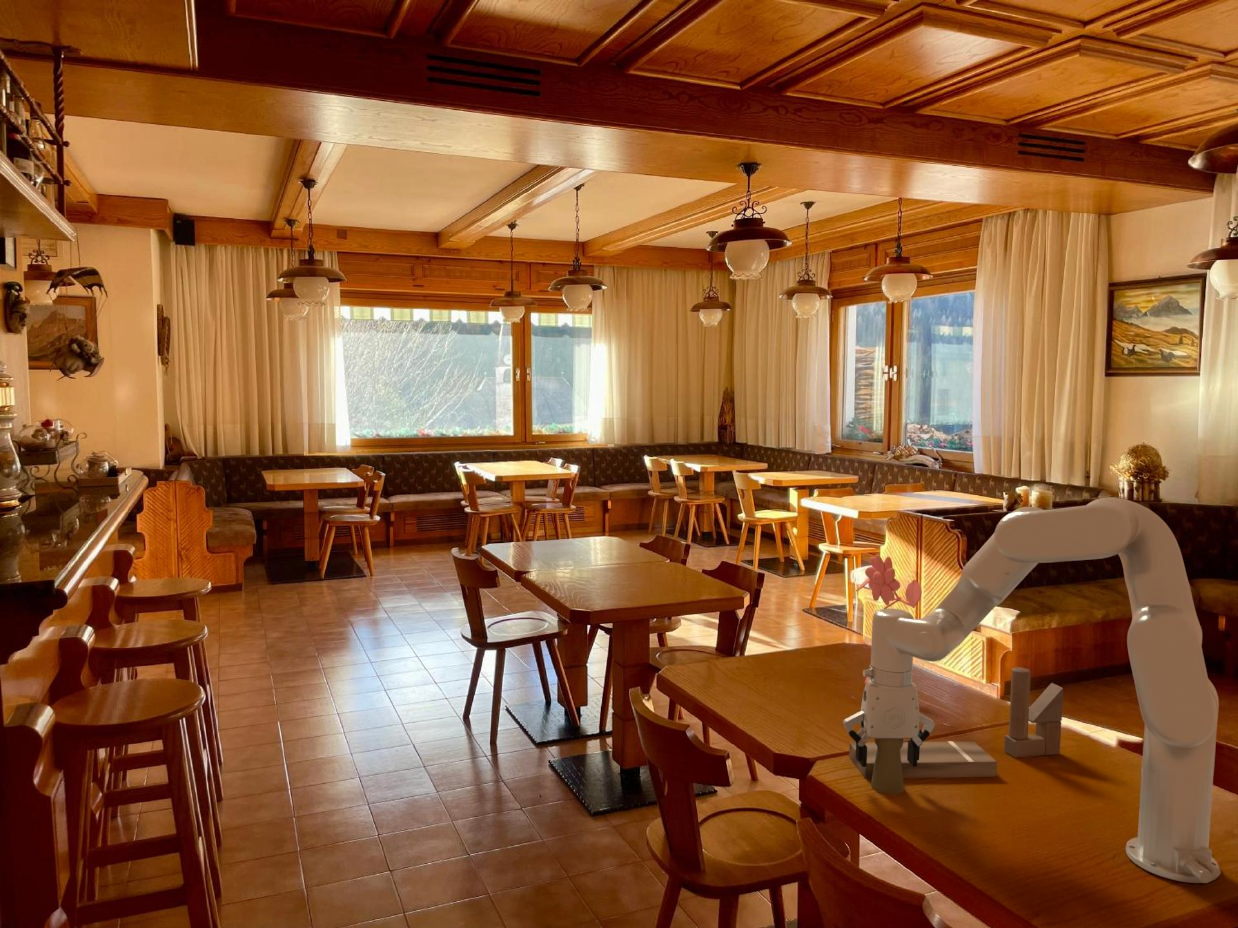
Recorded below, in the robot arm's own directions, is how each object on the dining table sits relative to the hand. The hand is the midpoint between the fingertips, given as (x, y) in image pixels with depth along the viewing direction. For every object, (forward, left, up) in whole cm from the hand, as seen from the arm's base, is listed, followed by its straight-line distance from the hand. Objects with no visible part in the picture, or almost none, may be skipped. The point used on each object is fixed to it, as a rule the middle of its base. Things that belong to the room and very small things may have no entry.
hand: (886, 763), depth 167 cm
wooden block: (+15, -36, -5) cm, 39 cm away
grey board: (+9, -10, -4) cm, 14 cm away
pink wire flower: (+52, -16, -5) cm, 54 cm away
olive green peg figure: (0, 0, -5) cm, 5 cm away
